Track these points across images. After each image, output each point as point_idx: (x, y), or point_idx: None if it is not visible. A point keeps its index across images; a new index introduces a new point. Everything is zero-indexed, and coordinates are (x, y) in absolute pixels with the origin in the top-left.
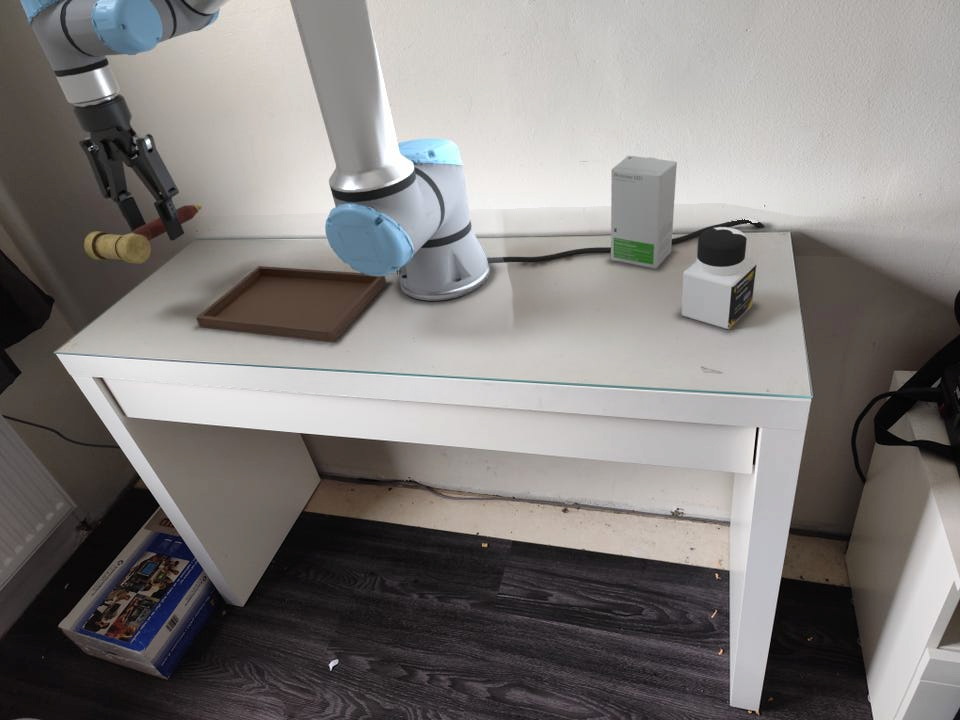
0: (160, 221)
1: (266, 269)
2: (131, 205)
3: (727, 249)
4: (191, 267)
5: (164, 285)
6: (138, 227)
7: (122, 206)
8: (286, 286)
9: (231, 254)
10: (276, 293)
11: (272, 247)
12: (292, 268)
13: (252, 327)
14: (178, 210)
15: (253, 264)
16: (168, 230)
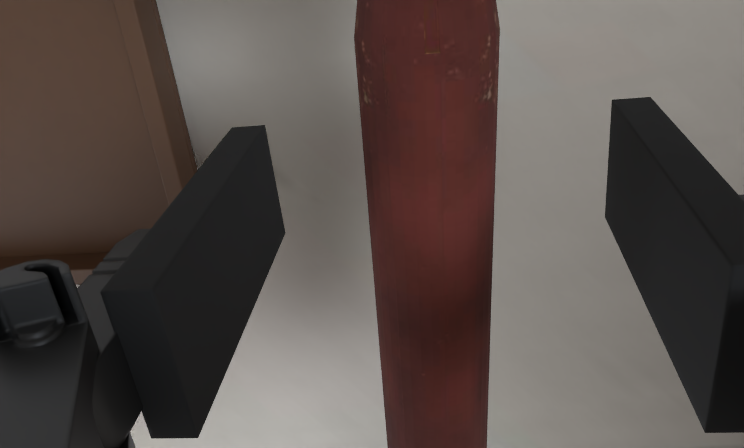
0: (389, 253)
1: None
2: (685, 322)
3: None
4: None
5: (654, 95)
6: (629, 178)
7: (724, 244)
8: (16, 194)
9: (504, 367)
10: (6, 142)
11: (359, 426)
12: None
13: None
14: (413, 424)
15: (331, 316)
16: (214, 159)
